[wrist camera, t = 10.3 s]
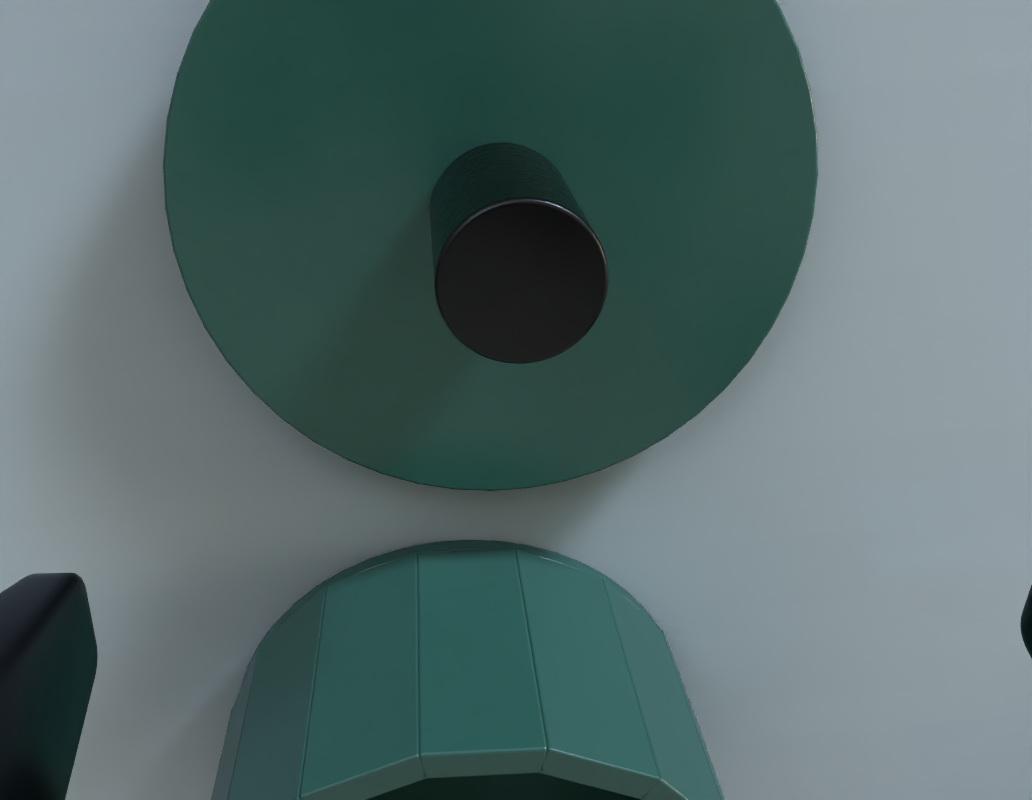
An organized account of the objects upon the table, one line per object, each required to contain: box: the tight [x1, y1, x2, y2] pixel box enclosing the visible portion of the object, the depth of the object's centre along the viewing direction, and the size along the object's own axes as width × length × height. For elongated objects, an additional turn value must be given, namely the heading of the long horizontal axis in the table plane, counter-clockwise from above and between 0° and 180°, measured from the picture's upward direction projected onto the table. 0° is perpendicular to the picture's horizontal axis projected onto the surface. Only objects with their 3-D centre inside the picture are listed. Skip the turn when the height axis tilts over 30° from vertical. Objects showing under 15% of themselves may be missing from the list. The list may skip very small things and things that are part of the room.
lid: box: [163, 0, 818, 491], centre depth 17 cm, size 12×12×5 cm
